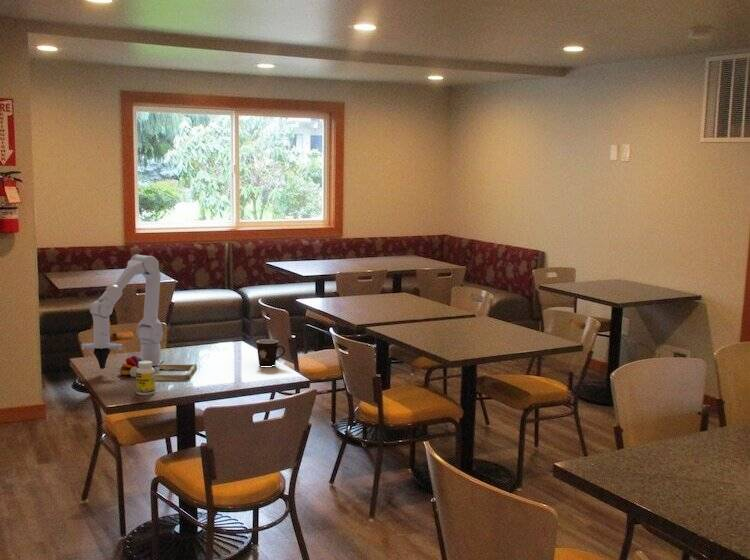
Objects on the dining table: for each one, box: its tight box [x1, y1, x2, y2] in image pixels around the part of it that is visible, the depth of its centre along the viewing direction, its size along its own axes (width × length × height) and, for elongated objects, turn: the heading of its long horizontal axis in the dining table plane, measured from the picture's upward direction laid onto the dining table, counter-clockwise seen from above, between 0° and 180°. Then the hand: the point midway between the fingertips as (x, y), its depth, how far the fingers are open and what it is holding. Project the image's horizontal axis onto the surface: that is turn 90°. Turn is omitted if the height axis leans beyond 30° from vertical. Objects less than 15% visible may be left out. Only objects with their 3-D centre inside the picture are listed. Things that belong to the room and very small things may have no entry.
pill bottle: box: [135, 361, 156, 396], centre depth 270 cm, size 6×6×11 cm
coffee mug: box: [256, 338, 286, 367], centre depth 312 cm, size 12×9×10 cm
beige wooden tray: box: [155, 363, 198, 381], centre depth 296 cm, size 17×14×2 cm
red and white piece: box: [118, 355, 142, 378], centre depth 295 cm, size 8×10×7 cm
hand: (102, 368), depth 294 cm, fingers closed
